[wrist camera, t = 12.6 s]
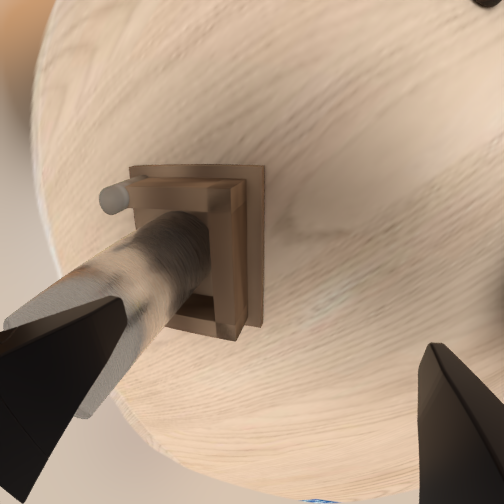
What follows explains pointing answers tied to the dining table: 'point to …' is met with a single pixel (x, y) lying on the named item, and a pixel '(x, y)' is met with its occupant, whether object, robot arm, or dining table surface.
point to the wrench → (488, 2)
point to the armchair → (220, 236)
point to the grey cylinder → (131, 289)
